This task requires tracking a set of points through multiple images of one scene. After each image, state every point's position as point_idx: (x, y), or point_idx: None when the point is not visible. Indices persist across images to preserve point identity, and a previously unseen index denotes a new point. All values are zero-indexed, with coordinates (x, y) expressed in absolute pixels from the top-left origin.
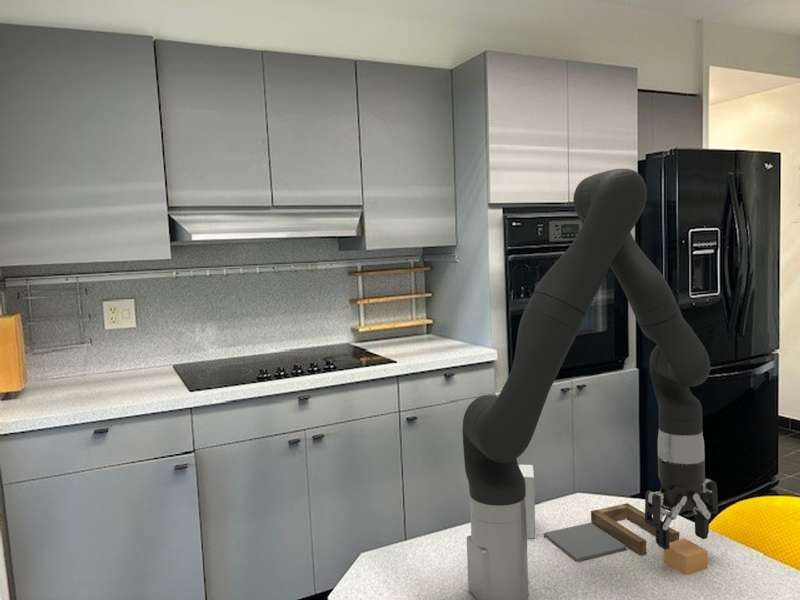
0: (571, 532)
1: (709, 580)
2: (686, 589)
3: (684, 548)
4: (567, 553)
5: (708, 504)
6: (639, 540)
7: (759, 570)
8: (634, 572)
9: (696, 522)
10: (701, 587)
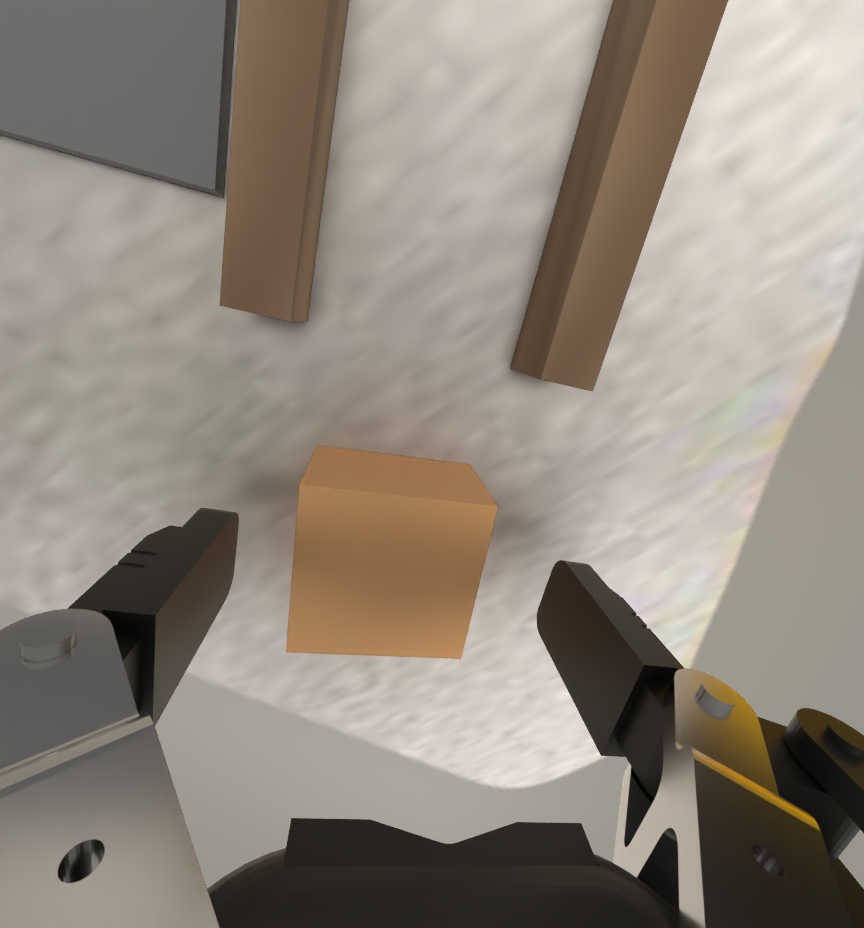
0: None
1: None
2: (201, 649)
3: (372, 587)
4: None
5: (842, 828)
6: (242, 285)
7: None
8: (59, 427)
9: (603, 633)
10: (277, 666)
